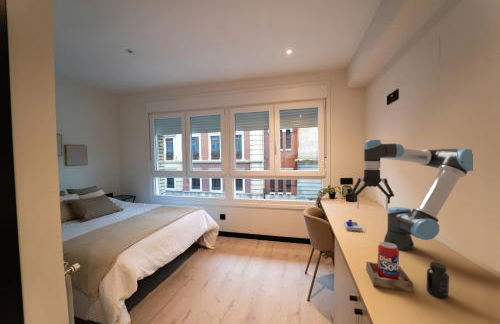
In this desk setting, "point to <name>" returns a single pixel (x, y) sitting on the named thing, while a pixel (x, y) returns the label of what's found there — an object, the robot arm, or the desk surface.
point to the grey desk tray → (355, 227)
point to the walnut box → (392, 284)
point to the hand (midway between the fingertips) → (371, 208)
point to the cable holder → (350, 223)
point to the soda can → (388, 261)
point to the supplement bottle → (437, 281)
